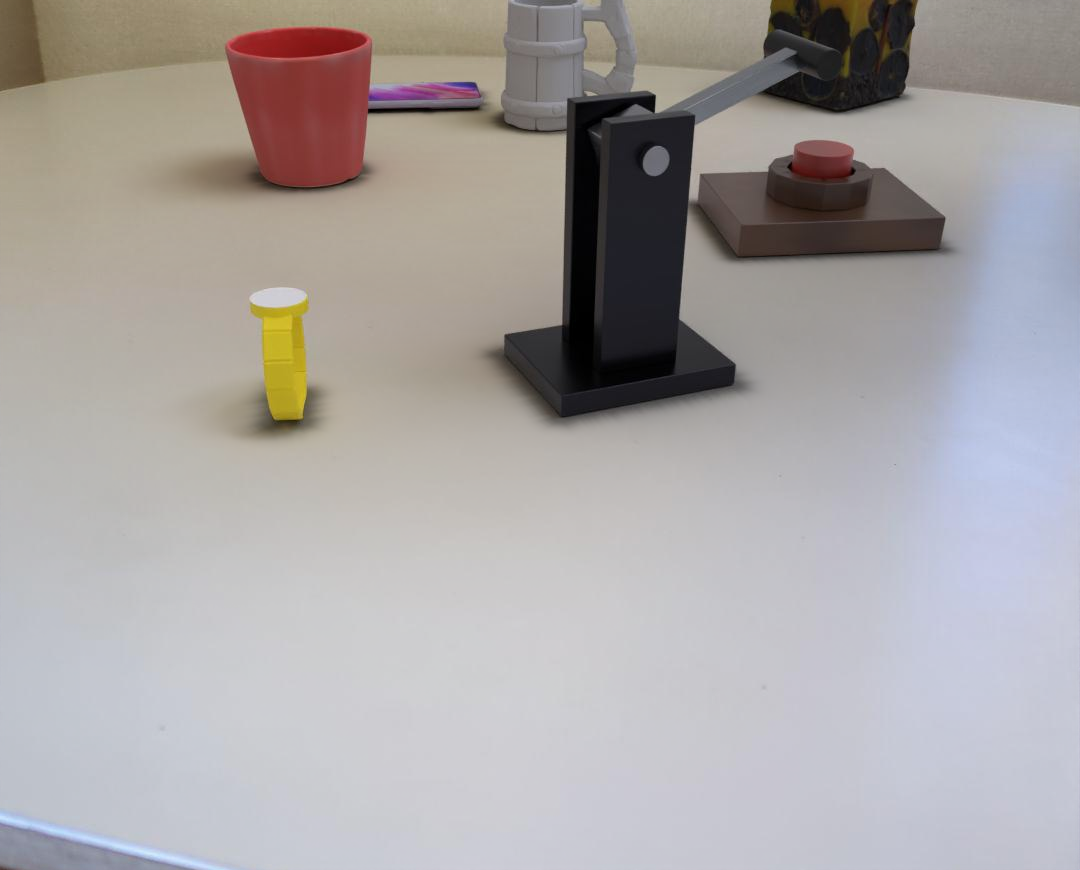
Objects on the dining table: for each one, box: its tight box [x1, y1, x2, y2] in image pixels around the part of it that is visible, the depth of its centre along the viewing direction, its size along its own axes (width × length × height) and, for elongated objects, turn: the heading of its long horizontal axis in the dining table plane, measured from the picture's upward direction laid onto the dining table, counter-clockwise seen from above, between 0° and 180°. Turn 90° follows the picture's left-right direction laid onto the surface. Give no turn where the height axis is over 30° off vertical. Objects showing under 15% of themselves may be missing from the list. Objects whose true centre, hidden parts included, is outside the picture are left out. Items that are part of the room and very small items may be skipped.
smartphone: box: [368, 81, 484, 110], centre depth 111 cm, size 7×1×15 cm
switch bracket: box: [503, 90, 737, 417], centre depth 61 cm, size 10×8×14 cm
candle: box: [762, 0, 919, 111], centre depth 113 cm, size 10×10×10 cm
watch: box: [249, 286, 310, 421], centre depth 59 cm, size 6×3×6 cm, turn 5°
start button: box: [791, 139, 855, 179], centre depth 82 cm, size 4×4×2 cm
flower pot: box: [224, 26, 373, 188], centre depth 91 cm, size 11×11×10 cm
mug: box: [500, 0, 638, 132], centre depth 103 cm, size 8×12×12 cm, turn 81°
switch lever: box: [588, 30, 843, 168], centre depth 59 cm, size 12×5×2 cm, turn 113°
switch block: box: [697, 154, 947, 258], centre depth 84 cm, size 14×11×4 cm
